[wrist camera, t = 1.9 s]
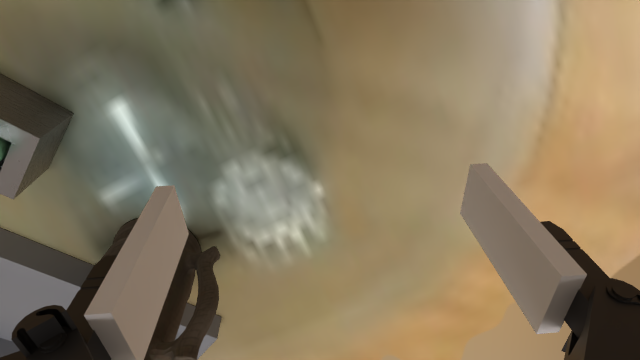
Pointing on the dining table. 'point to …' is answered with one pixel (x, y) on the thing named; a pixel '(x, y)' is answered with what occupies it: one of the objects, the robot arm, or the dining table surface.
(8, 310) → the tray
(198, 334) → the beer stein
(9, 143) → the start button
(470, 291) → the dining table surface
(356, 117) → the dining table surface
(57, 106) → the grey square hollow block
